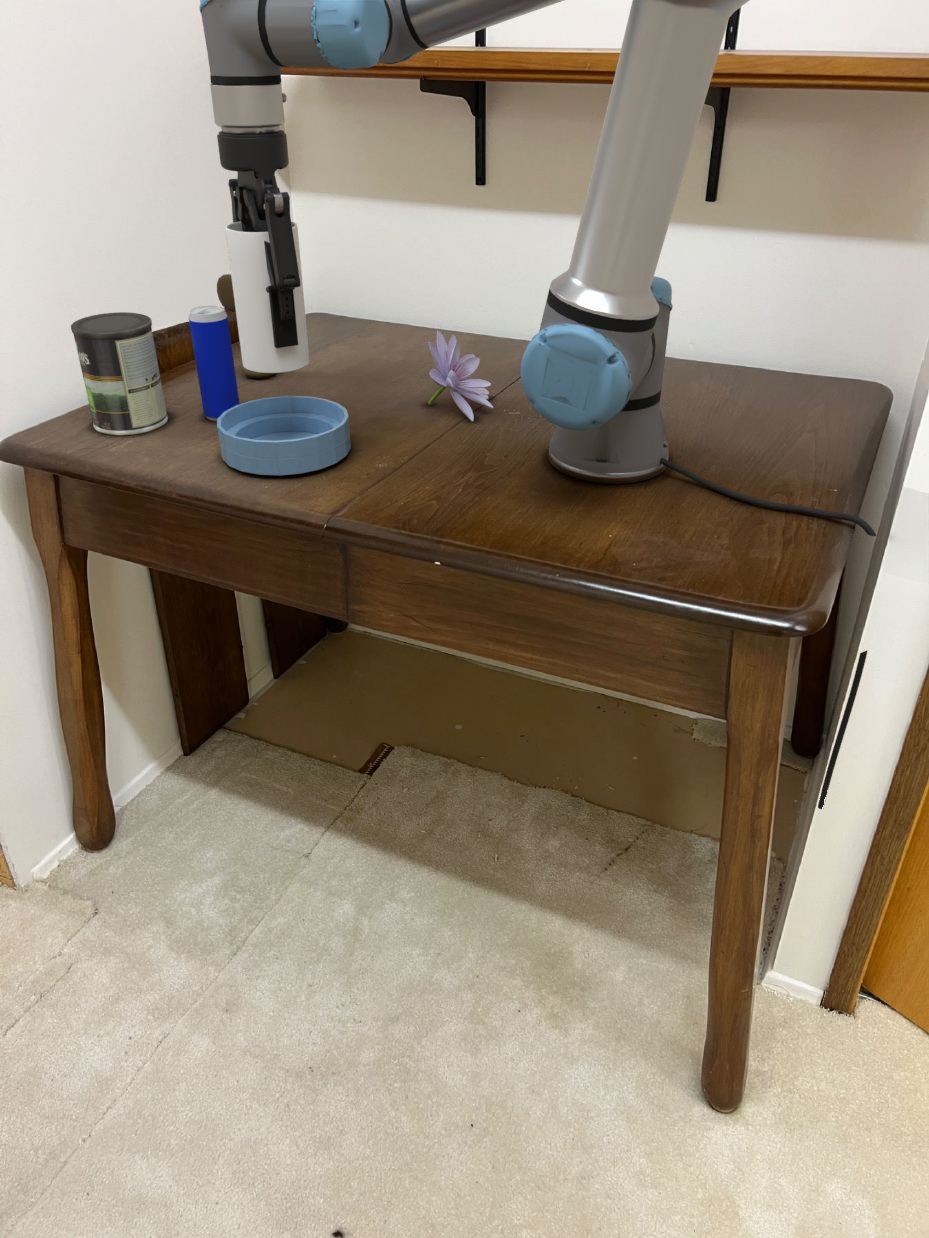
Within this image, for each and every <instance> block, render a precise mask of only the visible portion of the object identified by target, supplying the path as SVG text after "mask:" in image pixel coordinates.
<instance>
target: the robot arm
mask: <svg viewBox="0 0 929 1238" xmlns="http://www.w3.org/2000/svg"><path fill="white" fill-rule="evenodd" d="M199 1H200V4H199V13H200V15H201V22H202V27H203V34H204V39H205V46H206V53H207V59H208V66H209V67H208V68H209V73H210V74H209V77H210V78H209V79H210V84H209V87H210V94H211V101H212V102H211V104H212V112H213V121H214V124H215V125H216V126H217V127H220V129H221V130H220V131H218V134H216V140H217V146H218V154H219V163H220V166H221V167H222V168H223V169H224V170H226V171H230V172H237V178H229V179H228V183H227V184H228V188H229V194H230V200H231V213H232V223H235V222H240V221H241V223H242V231H243V232H268V234H269V241H270V243H269V242H266V241H264V245H265V254H266V263H267V270H268V274H269V278H270V283H271V286H268V287H267V288H266V291H267V293H269V299H270V308H271V318H272V327H273V336H274V346H275V347H276V348H282V347H289V346H295V345H298V337H297V326H296V315H295V305H294V294H293V290H294V289H295V287H300V277H299V271H298V264H297V257H296V251H295V244H294V237H293V231H292V224H291V222H292V218H291V199H290V197H291V196H290V194H289V192H288V191H282V192H281V190H280V187H279V186H278V183H277V179H276V172H277V170H283V169H285V168H287V167H288V166H289V162H290V160H289V149H288V137H287V133H286V132H285V131H284V130H283V129H281V127H280V126H283V125H284V124H285V122H286V120H285V110H284V108H285V107H284V103H286V102H287V95H286V93H285V92H283V88H282V71H281V70H282V68H283V67H284V68H289V67H300V68H318V69H319V68H321V69H338V70H341V71H347V70H357V69H367V68H368V69H369V68H372V67H374V66H375V65H379V64H382V65H383V64H384V65H396V64H399V63H404V62H406V61H408V60H410V59H412V58H414V57H415V56H417V55H418V54H419V53H421V52H423V51H425V50H428V49H429V48H433V47H436V46H439V45H441V44H444V43H447V42H450V41H452V40H456V39H458V38H461V37H464V36H467V35H469V34H473V33H476V32H478V31H481V30H484V29H488V28H489V27H492V26H495V25H498V24H502V23H504V22H507V21H509V20H513V19H515V18H517V17H521V16H524V15H527V14H530V13H533V12H535V11H538V10H541V9H544V8H546V7H550V6H553V5H555V4H559V3H561V2H564V1H565V0H199ZM748 2H750V0H632V2H631V6H630V9H629V14H628V18H627V22H626V27H625V31H624V35H623V39H622V43H621V46H620V51H619V56H618V59H617V61H618V62H617V65H616V67H615V71H614V77H613V81H612V85H611V88H610V89H611V90H610V94H609V98H608V102H607V105H606V111H605V115H604V118H603V123H602V127H601V132H600V136H599V140H598V143H597V149H596V152H595V153H596V154H595V157H594V161H593V166H592V170H591V174H590V179H589V182H588V187H587V191H586V194H585V199H584V203H583V208H582V212H581V215H580V220H579V225H578V229H577V233H576V237H575V240H574V241H575V242H574V244H573V245H574V246H573V250H572V253H571V259H570V263H569V265H568V266H569V267H568V268H567V270H566V271H564V272H563V273H561V274H560V275H558V276H557V277H555V278H553V280H552V281H551V282H550V283H549V284H550V285H549V288H548V293H547V297H546V301H545V305H544V309H543V312H542V313H543V314H542V317H541V322H540V327H539V330H538V332H537V333H536V334H535V335H533V337H531V340H530V341H529V342H528V343H527V347H526V348H525V350H524V353H523V355H522V358H521V363H520V373H519V374H520V382H521V387H522V389H523V390H522V391H523V392H524V395H525V396H526V398H527V400H529V402H530V404H531V405H532V408H533V410H535V411H536V412H537V413H538V414H539V415H540V416H541V417H542V418H544V419H545V420H546V421H548V422H549V423H551V424H553V425H555V429H554V432H553V434H552V435H551V437H550V440H549V445H548V461H549V463H550V465H551V466H552V467H553V468H554V469H556V470H557V471H558V472H560V473H562V474H564V475H566V476H569V477H571V478H575V479H578V480H581V481H582V480H583V481H586V482H591V483H599V484H630V483H637V482H643V481H646V480H651V479H653V478H655V477H657V476H659V475H660V474H662V473H664V472H665V470H666V469H667V468H669V469H671V470H673V471H675V472H677V473H679V474H681V475H683V476H685V477H687V478H688V479H690V480H693V481H694V482H696V483H698V484H700V485H702V486H704V487H706V488H708V489H711V490H713V491H715V492H718V493H720V494H723V495H725V496H727V497H730V498H733V499H736V500H738V501H741V502H745V503H749V504H751V505H755V506H759V507H763V508H768V509H774V510H780V511H787V512H792V513H793V512H794V513H795V512H796V513H800V514H801V513H802V514H807V515H813V516H817V517H820V518H821V517H822V518H826V519H832V520H842V521H847V522H852V523H854V524H856V525H858V526H859V527H861V528H862V529H863V531H864V532H865V533H866V534H867V535H868V536H870V537H877V534H876V532H875V530H874V529H873V528H872V527H871V525H870V524H869V523H868V522H867V521H865V520H864V519H863V518H862V517H860V516H857V515H855V514H850V513H846V512H836V511H828V510H822V509H818V508H814V507H809V506H803V505H796V504H787V503H780V502H775V501H770V500H764V499H761V498H756V497H752V496H750V495H746V494H742V493H740V492H737V491H734V490H732V489H729V488H726V487H724V486H722V485H719V484H717V483H714V482H712V481H710V480H708V479H706V478H704V477H701V476H700V475H698V474H696V473H694V472H693V471H690V470H688V469H686V468H685V467H682V466H680V465H678V464H676V463H674V462H672V461H670V460H669V457H670V452H669V451H670V447H669V441H668V440H667V432H666V428H665V422H664V418H663V414H662V409H661V396H662V389H663V388H662V387H663V378H664V371H665V362H666V354H667V344H668V334H669V326H670V320H671V319H670V318H671V311H672V310H673V306H674V305H673V303H672V299H673V298H672V296H673V289H672V288H673V287H672V284H671V283H670V282H669V281H668V280H667V279H665V278H664V277H663V278H662V277H659V276H655V274H656V271H657V267H658V263H659V260H660V256H661V254H662V249H663V245H664V243H665V239H666V236H667V234H668V233H667V232H668V229H669V225H670V222H671V219H672V215H673V212H674V208H675V206H676V201H677V198H678V195H679V191H680V187H681V184H682V181H683V178H684V174H685V170H686V167H687V165H688V164H687V163H688V161H689V157H690V154H691V150H692V147H693V143H694V140H695V136H696V133H697V129H698V127H699V122H700V120H701V116H702V112H703V109H704V105H705V102H706V99H707V96H708V93H709V89H710V86H711V82H712V79H713V76H714V71H715V67H716V64H717V62H718V61H717V60H718V57H719V54H720V51H721V48H722V43H723V40H724V37H725V34H726V30H727V27H728V23H729V20H730V17H731V16H732V15H733V14H734V13H735V12H737V10H739V9H740V8H741V7H744V5H746V4H747V3H748ZM284 276H286V277H284ZM283 277H284V278H283ZM868 651H869V650H868V649H867V650H864V651H862V652H860V653H859V656H858V660H857V664H856V669H855V673H854V676H853V680H852V683H851V686H850V691H849V695H848V698H847V702H846V705H845V709H844V712H843V715H842V719H841V720H840V725H839V729H838V731H837V735H836V738H835V742H834V745H833V747H832V752H831V754H830V758H829V762H828V765H827V768H826V772H825V776H824V780H823V784H822V786H821V787H822V788H821V791H820V795H821V796H819V799H820V800H818V803H817V808H818V809H819V810H823V809H822V807H823V805H824V806H825V804H824V799H825V797H826V798H827V796H828V792H827V790H828V791H829V788H830V785H831V781H832V777H833V773H834V770H835V767H836V763H837V760H838V756H839V753H840V749H841V746H842V743H843V740H844V737H845V733H846V731H847V726H848V724H849V720H850V717H851V714H852V710H853V707H854V703H855V700H856V696H857V694H858V690H859V688H860V687H859V686H860V683H861V680H862V675H863V672H864V667H865V664H866V660H867V656H868ZM826 795H827V796H826Z"/></svg>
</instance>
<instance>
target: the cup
mask: <svg viewBox="0 0 929 1238" xmlns="http://www.w3.org/2000/svg"><path fill="white" fill-rule="evenodd" d="M291 224H292V231H293V237H294V244H295V251H296V257H297V264H298V271H299V277H300V287H295V289H294V290H293V294H294V305H295V315H296V326H297V337H298V345H295V346H289V347H282V348H276V347H275V346H274V336H273V327H272V318H271V308H270V299H269V293H267V291H266V288H267V287H268V286H271V283H270V278H269V274H268V270H267V263H266V254H265V245H264V241H266V242H269V243H270V241H269V234H268V232H243V231H242V223H241V221H240V222H235V223H233V222H231V223H228V224H227V225H225V228H224V229H225V236H226V246H227V253H228V261H229V269H230V274H231V278H232V285H233V293H234V301H235V309H236V312H235V315H236V323H237V331H238V339H239V347H240V354H241V355H240V356H241V363H242V367H243V368H244V369H245V368H246V369H248V370H251V371H255V372H261V373H275V374H278V373H288V372H292V371H297V370H299V369H302V368H305V367H306V366H308V365H309V364H310V351H309V338H308V329H307V317H306V307H305V296H304V285H303V284H304V283H303V273H302V261H301V250H300V249H301V248H300V239H299V228H298V224H297V223H296V222H293V221H291ZM284 277H286V276H284ZM284 277H283V278H284Z"/></svg>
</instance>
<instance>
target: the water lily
mask: <svg viewBox="0 0 929 1238" xmlns="http://www.w3.org/2000/svg"><path fill="white" fill-rule="evenodd" d="M427 342H428V348H429V351H430V355H431V358H432V360H433V362H434V365H435V366H436V368H437V369H436V368H431V369H430V370H429V372H428V373H429V378H430V379H431V380H432V381H433V382H434V383H435V384H436V385H438V386H440V388H439V389H437V390H436V392H435V393H434V394H433V395H432V397H431V398H430V399H429V400H428V401H427V404H428V405H429V406H432V405H433V404H434V402H435V401H436V400H437V398H438V397H439V396H440V395H441V394H442V393H443V391H445V389H446V388H449V392H450V395H451V397H452V399H453V401H454V404H455V405H456V406H457V407H458V409H459V410H460V411H461V413H463V414H464V416H466V418H467V419H469V420H470V421H471V422H474V420H475V416H474V412H473V409H472V407H471V406H470V405H469V403H468V402H467V401H466V400H465V399H464V397H466V398H467V399H469V400H470V401H472V402H474V403H476V404H478V405H482V406H484V407H486V408H491V409H494V406H493V405H492V403H491V402H490V401H489V395H490V392H489V390H487V389H486V387H490V386H492V383H491V381H488V380H485V379H481V378H472V376H471V375H472V374H473V373H474V372H476V370H477V369H478V367H479V365H480V358H479V357H477V356H476V355H475V354H473V353H467V354H465V355H463V356H462V357H461V358H460V356H461V355H460V354H461V346H460V343H459V341H458V340H457V338H456V335H454V334H452V335H451V336H450V338H449V341H448V343H447V340H446V338H445V337H444V335H443V333H442V332H441V331H440V330H439V329H437V331H436V345H435V343H433V342H432V341H430V340H428V341H427ZM463 396H464V397H463Z"/></svg>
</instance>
